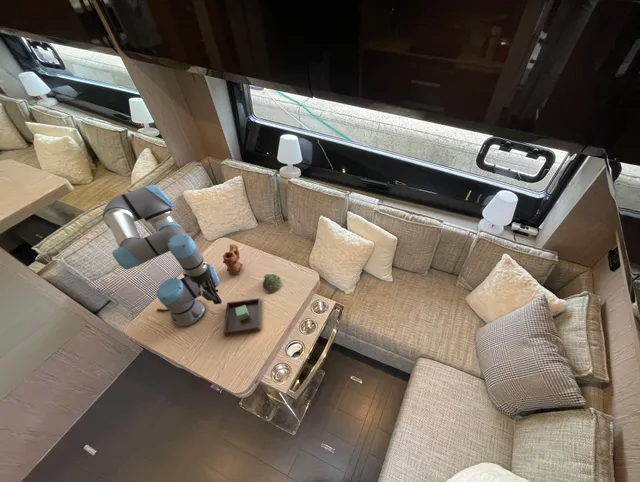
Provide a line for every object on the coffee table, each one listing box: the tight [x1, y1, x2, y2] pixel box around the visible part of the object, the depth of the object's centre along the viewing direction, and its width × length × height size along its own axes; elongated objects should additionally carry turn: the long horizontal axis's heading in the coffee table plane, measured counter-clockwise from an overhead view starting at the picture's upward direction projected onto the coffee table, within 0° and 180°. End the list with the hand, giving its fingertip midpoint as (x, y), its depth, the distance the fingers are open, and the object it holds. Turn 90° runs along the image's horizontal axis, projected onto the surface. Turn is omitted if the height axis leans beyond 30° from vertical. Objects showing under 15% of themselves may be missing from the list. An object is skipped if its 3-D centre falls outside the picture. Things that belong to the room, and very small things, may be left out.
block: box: [235, 305, 249, 321], centre depth 141 cm, size 5×5×5 cm
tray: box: [222, 297, 262, 337], centre depth 142 cm, size 17×18×3 cm
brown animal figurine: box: [222, 243, 243, 276], centre depth 159 cm, size 15×8×15 cm, turn 179°
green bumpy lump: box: [262, 273, 282, 294], centre depth 156 cm, size 10×7×10 cm
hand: (218, 302), depth 121 cm, fingers closed
